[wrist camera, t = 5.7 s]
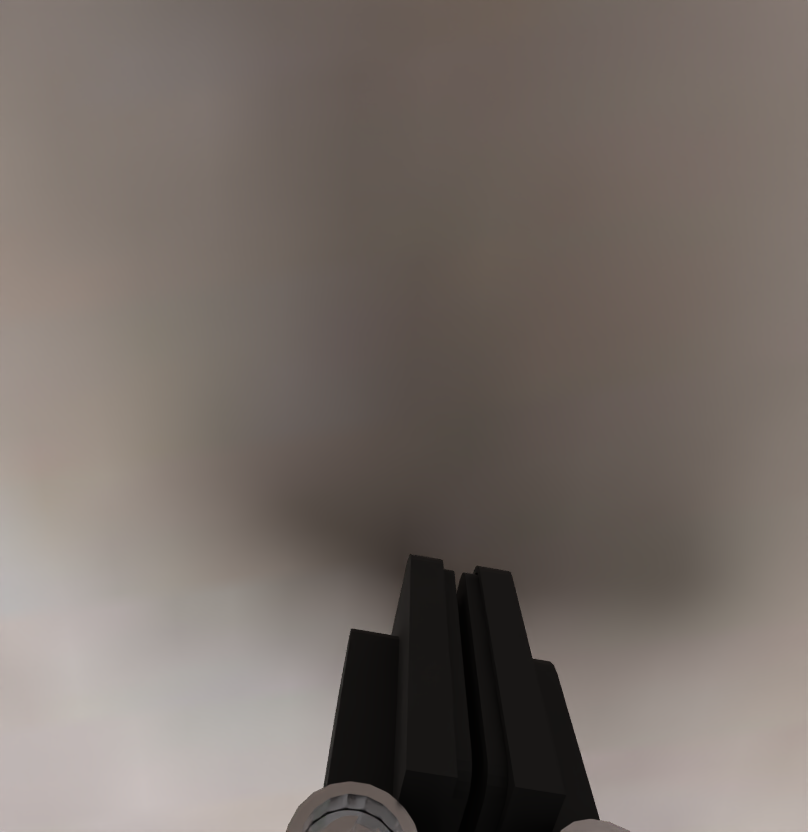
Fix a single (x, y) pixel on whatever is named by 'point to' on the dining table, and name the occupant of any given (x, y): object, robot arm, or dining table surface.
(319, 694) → the dining table surface
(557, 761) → the robot arm
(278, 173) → the dining table surface
